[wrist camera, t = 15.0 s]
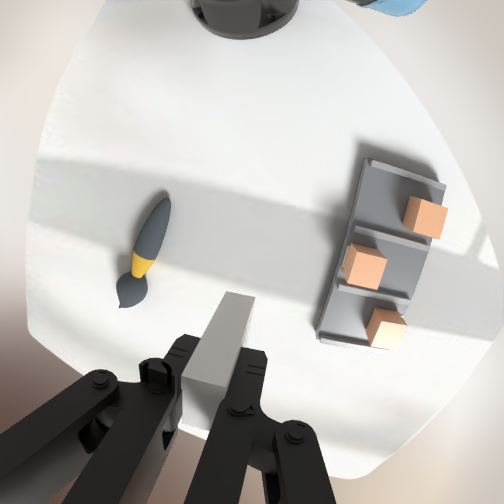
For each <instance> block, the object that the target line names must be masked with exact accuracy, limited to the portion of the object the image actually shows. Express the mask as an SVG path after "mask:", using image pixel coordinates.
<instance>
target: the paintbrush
mask: <svg viewBox="0 0 504 504" xmlns="http://www.w3.org/2000/svg"><path fill="white" fill-rule="evenodd" d="M170 210H171V202H170V199H169V198H165V199H163V200H162V201H161V202H160V203H159V204H158V205H157V206H156V207H155V209H154V210H153V211H152V213H151V214H150V216H149V218H148V219H147V221H146V223H145V224H144V226H143V228H142V230H141V232H140V234H139V236H138V239H137V241H136V244H135V247H134V250H133V257H132V271H131V272H127V273H125V274H123V275H122V276H121V277H120V278H119V279H118V281H117V285H116V289H117V294H118V298H119V301H120V305H119V308H128V307H132V306H134V305H136V304H138V303H139V302H141V301H142V300H143V299H144V298H145V296H146V294H147V290H148V286H147V282H146V280H145V278H144V277H143V275H144V274H145V273H146V272H147V270H148V269H149V268H150V266H151V265H152V263H153V262H154V261H155V259H156V257H157V255H158V253H159V250H160V247H161V245H162V242H163V239H164V236H165V233H166V229H167V225H168V221H169V217H170Z"/></svg>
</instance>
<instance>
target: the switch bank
mask: <svg viewBox="0 0 504 504" xmlns="http://www.w3.org/2000/svg"><path fill="white" fill-rule="evenodd" d="M445 189H446V185H444V184H442V183H439V182H437V181H434V180H431V179H429V178H426V177H423V176H420V175H418V174H415V173H412V172H409V171H406V170H403V169H400V168H397V167H394V166H391V165H388V164H385V163H382V162H379V161H375V160H372V159H369V158H364V160H363V165H362V169H361V174H360V178H359V183H358V187H357V191H356V196H355V200H354V204H353V208H352V212H351V216H350V220H349V224H348V227H347V231H346V235H345V239H344V242H343V246H342V249H341V253H340V256H339V260H338V263H337V267H336V270H335V273H334V277H333V280H332V283H331V287H330V290H329V293H328V296H327V299H326V302H325V305H324V308H323V311H322V314H321V317H320V320H319V323H318V326H317V329H316V339H319V340H320V343H324V344H329V345H334V346H340V347H345V348H351V349H357V350H363V351H369V352H375V353H382V354H388V352H389V349H384V348H378V347H371V346H370V343H369V340H368V337H367V335H366V332H365V331H366V328H367V326H368V323H369V321H370V319H371V316H372V313H373V311H374V308H375V307H376V308H381V309H386V310H391V311H396V312H399V313H400V315H401V316H402V318H404V316H405V313H406V311H407V308H408V306H409V304H410V302H411V298H412V296H413V293H414V291H415V288H416V285H417V283H418V280H419V277H420V274H421V272H422V269H423V266H424V263H425V260H426V257H427V254H428V252H429V249H430V244H431V241H432V237H429V236H426V235H423V234H419V233H416V232H413V231H411V230H410V229H408V228H406V227H405V226H403V225H402V223H403V220H404V216H405V212H406V208H407V205H408V201H409V196H413V197H417V198H420V199H423V200H426V201H429V202H432V203H435V204H437V205H440V206H441V205H442V201H443V196H444V192H445ZM351 243H353V244H357V245H361V246H365V247H369V248H373V249H377V250H380V252H381V253H382V254H383V255H384V256H385V257H386V258H387V259H388V260H387V263H386V266H385V269H384V272H383V275H382V278H381V281H380V283H379V286H378V289H377V290H376V289H371V288H367V287H362V286H358V285H353V284H349V283H347V281H346V279H345V276H344V274H343V269H344V266H345V262H346V259H347V256H348V252H349V249H350V245H351Z"/></svg>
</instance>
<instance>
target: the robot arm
mask: <svg viewBox="0 0 504 504" xmlns="http://www.w3.org/2000/svg"><path fill="white" fill-rule="evenodd" d="M347 1H350V2H353V3H356V4H357V5H358V6H360V7H363V8H371V9H374V10H377V11H380V12H382V13H385V14H388V15H391V16H396V17H399V16H405V15H408V14H411V13H413V12H414V11H416V10H417V9H419V8H420V7H421V6H422V5H423V4H424V3H425V2H426V1H427V0H347ZM298 3H299V0H191V4H192V9H193V12H194V14H195V16H196V18H197V19H198V20H199V22H200V23H201V24H202V25H203V27H205V28H206V29H207V30H208V31H210V32H211V33H213V34H215V35H218V36H220V37H224V38H228V39H238V40H244V39H253V38H258V37H262V36H265V35H268V34H271V33H273V32H275V31H277V30H278V29H280V28H282V27H283V26H284V25H286V24H287V23H288V22H289V21H290V20H291V19H292V17H293V16H294V14H295V12H296V10H297V7H298ZM254 302H255V297H251V296H246V295H241V294H237V293H232V292H227V291H226V293H225V295H224V297H223V298H222V300H221V302H220V304H219V306H218V308H217V310H216V311H215V313H214V315H213V317H212V319H211V321H210V323H209V325H208V326H207V328H206V330H205V332H204V334H203V336H202V338H198V337H195V336H191V335H187V334H184V335H182V336H181V337H179V338H177V339H176V340H175V342H174V343H173V345H172V347H171V348H170V350H169V351H168V353H167V354H166V356H165V357H164V359H161V358H149V359H146V360H144V361H142V362H141V363H140V364H139V371H140V380H141V382H137V383H131V382H121V381H118V380H117V377H116V376H115V375H114V374H113V373H112V372H110V371H108V370H102V369H99V370H93V371H91V372H89V373H87V374H86V375H85V376H83V377H82V378H80V379H79V380H77V381H76V382H75V383H73V384H72V385H70V386H69V387H68V388H66V389H65V390H63V391H62V392H60V393H59V394H57V395H56V396H55V397H53V398H52V399H51V400H49V401H48V402H46V403H45V404H43V405H42V406H40V407H39V408H38V409H36V410H35V411H33V412H32V413H30V414H29V415H27V416H26V417H25V418H23V419H22V420H20V421H19V422H17V423H16V424H14V425H13V426H12V427H10V428H9V429H8V430H6V431H4V432H3V433H2V434H0V504H45V503H46V502H47V501H49V500H50V499H51V498H52V497H53V496H54V495H56V494H57V493H58V492H59V491H60V490H61V489H63V488H64V487H65V486H66V485H67V484H68V483H69V482H71V481H72V480H73V479H74V478H75V477H76V476H77V475H79V474H80V473H81V474H80V475H79V477H78V478H77V480H76V482H75V483H74V485H73V486H72V488H71V489H70V491H69V493H68V494H67V496H66V497H65V499H64V501H63V502H62V504H146V503H147V500H148V498H149V496H150V494H151V492H152V489H153V487H154V485H155V482H156V480H157V478H158V476H159V474H160V471H161V469H162V467H163V465H164V462H165V460H166V458H167V456H168V453H169V451H170V449H171V447H172V444H173V442H174V440H175V438H176V435H177V432H178V423H179V421H180V419H181V416H182V423H183V424H186V425H190V426H193V427H197V428H201V429H204V430H208V431H210V432H209V435H208V437H207V440H206V443H205V446H204V449H203V452H202V455H201V457H200V460H199V463H198V465H197V468H196V471H195V474H194V477H193V480H192V482H191V485H190V488H189V490H188V493H187V496H186V498H185V501H184V504H238V503H239V499H240V495H241V490H242V486H243V482H244V477H245V473H246V468H247V465H250V466H251V467H253V468H255V469H258V470H260V471H261V472H262V480H263V487H264V495H265V502H266V504H336V501H335V497H334V494H333V491H332V487H331V484H330V480H329V477H328V474H327V470H326V467H325V463H324V460H323V457H322V453H321V450H320V447H319V443H318V440H317V437H316V433H315V432H314V430H313V428H312V427H311V426H309V425H308V424H307V423H304V422H302V421H297V420H290V421H285V422H283V423H279V422H277V421H275V420H273V419H271V418H269V417H268V416H267V415H265V414H264V412H263V411H262V410H261V407H260V398H261V393H262V387H263V382H264V377H265V371H266V366H267V360H268V359H267V357H266V355H265V352H264V351H260V350H255V349H250V348H246V345H247V341H248V336H249V331H250V325H251V319H252V313H253V307H254Z"/></svg>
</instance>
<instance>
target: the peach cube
mask: <svg viewBox="0 0 504 504" xmlns="http://www.w3.org/2000/svg"><path fill="white" fill-rule="evenodd" d="M387 260H388V259H387V258H386V257H385V256H384V255H383V254H382V253H381V252H380V250H377V249H373V248H369V247H365V246H361V245H357V244H353V243H351V245H350V249H349V252H348V256H347V259H346V262H345V266H344V269H343V274H344V276H345V279H346V281H347V283H349V284H353V285H358V286H362V287H367V288H371V289H376V290H377V289H378V286H379V283H380V281H381V278H382V275H383V272H384V269H385V266H386V263H387Z"/></svg>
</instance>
